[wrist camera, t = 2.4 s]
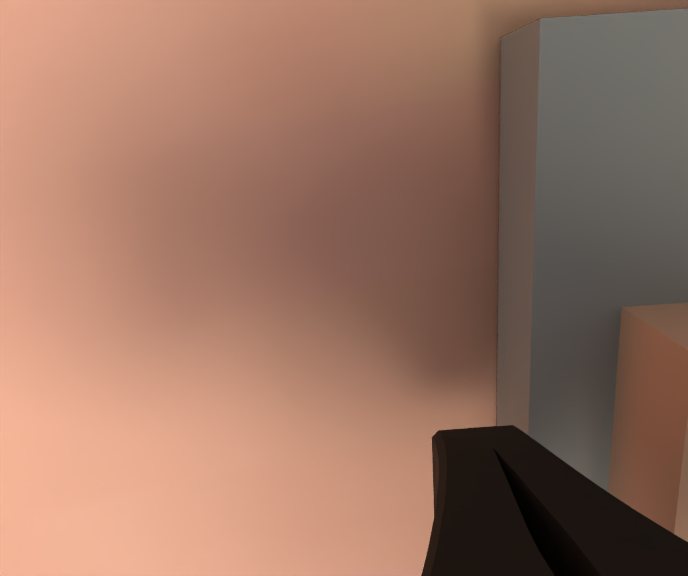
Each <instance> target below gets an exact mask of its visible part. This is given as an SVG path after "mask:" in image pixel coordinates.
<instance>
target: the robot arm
mask: <svg viewBox="0 0 688 576" xmlns="http://www.w3.org/2000/svg"><path fill="white" fill-rule="evenodd" d="M432 453H433V487H434V522H433V527H432V532H431V537H430V542H429V547H428V552H427V556H426V560H425V564H424V568H423V572H422V575H421V576H688V542H687V541H685V540H683V539H682V538H680V537H678V536H677V535H675V534H673V533H672V532H670V531H668V530H667V529H665V528H664V527H662V526H660V525H659V524H657V523H655V522H654V521H652V520H651V519H649V518H647V517H646V516H644V515H642V514H641V513H639V512H638V511H636V510H634V509H633V508H631V507H630V506H628V505H627V504H625V503H624V502H622V501H621V500H619V499H618V498H616V497H614V496H613V495H611V494H610V493H609V492H607V491H606V490H604V489H603V488H601V487H600V486H598V485H597V484H595V483H594V482H592V481H591V480H590V479H588V478H587V477H585V476H584V475H582V474H581V473H580V472H578V471H577V470H575V469H574V468H573V467H571V466H570V465H568V464H567V463H566V462H564V461H563V460H562V459H560V458H559V457H557V456H556V455H555V454H553V453H552V452H551V451H549V450H548V449H546V448H545V447H544V446H542V445H541V444H540V443H538V442H537V441H535V440H534V439H533V438H531V437H530V436H529V435H527V434H526V433H524V432H523V431H521V430H520V429H518V428H517V427H515V426H514V425H507V426H493V427H479V428H466V429H452V430H439V431H438V432H437V433H436V434H435V435H434V436H433V437H432Z"/></svg>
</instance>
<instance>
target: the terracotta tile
mask: <svg viewBox="0 0 688 576" xmlns="http://www.w3.org/2000/svg"><path fill="white" fill-rule="evenodd" d="M608 492H609V493H610V494H611V495H613V496H614V497H616V498H618V499H619V500H621V501H622V502H624V503H625V504H627V505H628V506H630V507H631V508H633V509H634V510H636V511H638V512H639V513H641V514H642V515H644V516H646V517H647V518H649V519H651V520H652V521H654V522H655V523H657V524H659V525H660V526H662V527H664V528H665V529H667V530H668V531H670V532H672V533H673V534H675V535H677V536H678V537H680V538H682V539H683V540H685V541H687V542H688V302H687V303H673V304H659V305H645V306H630V307H622V310H621V323H620V336H619V350H618V363H617V376H616V389H615V402H614V416H613V429H612V442H611V455H610V468H609V481H608Z"/></svg>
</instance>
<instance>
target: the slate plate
mask: <svg viewBox="0 0 688 576" xmlns="http://www.w3.org/2000/svg"><path fill="white" fill-rule="evenodd" d="M687 302H688V8H683V9H669V10H655V11H640V12H626V13H611V14H597V15H583V16H568V17H554V18H540V19H538V20H536V21H534V22H532V23H530V24H528V25H526V26H523V27H521V28H519V29H517V30H515V31H513V32H511V33H509V34H507V35H505V36H503V37H501V69H500V163H499V257H498V351H497V426H507V425H514V426H515V427H517V428H518V429H520V430H521V431H523V432H524V433H526V434H527V435H529V436H530V437H531V438H533V439H534V440H535V441H537V442H538V443H540V444H541V445H542V446H544V447H545V448H546V449H548V450H549V451H551V452H552V453H553V454H555V455H556V456H557V457H559V458H560V459H562V460H563V461H564V462H566V463H567V464H568V465H570V466H571V467H573V468H574V469H575V470H577V471H578V472H580V473H581V474H582V475H584V476H585V477H587V478H588V479H590V480H591V481H592V482H594V483H595V484H597V485H598V486H600V487H601V488H603V489H604V490H606V491H607V492H608V481H609V468H610V455H611V442H612V429H613V416H614V402H615V389H616V376H617V363H618V350H619V336H620V323H621V310H622V307H630V306H645V305H659V304H673V303H687Z"/></svg>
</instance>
